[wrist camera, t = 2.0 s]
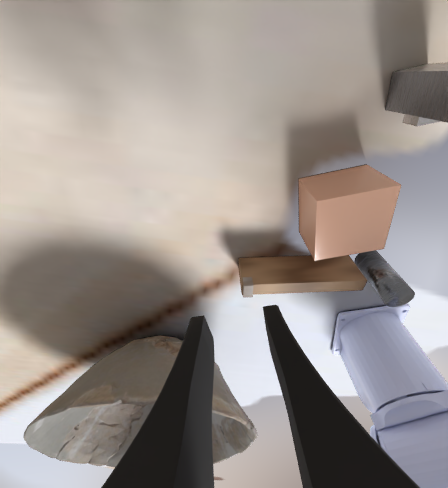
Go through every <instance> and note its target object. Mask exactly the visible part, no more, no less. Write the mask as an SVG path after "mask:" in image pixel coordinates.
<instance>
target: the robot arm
mask: <svg viewBox="0 0 448 488" xmlns="http://www.w3.org/2000/svg"><path fill="white" fill-rule="evenodd" d="M409 309H410V306H409V305H408V304H407V303H406V304H404V305H402V306H398V307H389V306H383V307H376V308H369V309H362V310H355V311H348V312H342V313H339V314H338V317H337V323H336V329H335V335H334V341H333V347H332V354H333V355H341V357H342V360H343V362H344V364H345V366H346V369H347V371H348V373H349V375H350V377H351V380H352V382H353V384H354V386H355V389H356V391H357V393H358V395H359V397H360V399H361V401H362V403H363V404H364V405H365V407H366V408H367V409H368V410H369V411H370V412H372V413H373V414H371V415H370V417H371V419H372V421H373V423H374V425H372V426H371V428H370V435H369V434H368V432H366V430H365V429H364V428H363V427H362V426H361V424H360V423H359V422H358V421H357V420H356V419H355V418H354V417H353V415H352V414H351V413H350V412H349V411H348V410H347V409H346V407H345V406H344V405H343V404H342V403H341V401H340V400H339V399H338V398H337V396H336V395H335V394H334V393H333V391H332V390H331V389H330V388H329V386H328V385H327V384H326V383H325V381H324V380H323V379H322V377H321V376H320V375H319V373H318V372H317V371H316V369H315V368H314V366H313V365H312V364H311V362H310V361H309V359H308V358H307V356H306V355H305V353H304V352H303V350H302V349H301V347H300V346H299V344H298V343H297V341H296V339H295V338H294V336H293V335H292V333H291V331H290V329H289V328H288V326H287V324H286V322H285V320H284V318H283V316H282V314H281V312H280V310H279V307H278V306H277V305H271V306H264V307H263V311H264V317H265V324H266V331H267V336H268V341H269V346H270V351H271V355H272V359H273V362H274V366H275V369H276V373H277V376H278V380H279V383H280V387H281V390H282V394H283V397H284V401H285V405H286V409H287V412H288V417H289V421H290V426H291V431H292V436H293V441H294V445H295V451H296V455H297V460H298V465H299V470H300V474H301V480H302V485H303V488H448V383H447V381H446V380H445V379H444V377H443V376H442V375H441V374H440V372H439V371H438V370H437V368H436V367H435V366H434V364H433V363H432V362H431V360H430V359H429V358H428V356H427V355H426V354H425V352H424V351H423V350H422V348H421V347H420V346H419V344H418V343H417V342H416V341H415V339H414V338H413V337H412V335H411V334H410V333H409V331H408V330H407V329H406V327H405V326H404V325H403V322H404V320H405V317H406V315H407V313H408V311H409ZM213 380H214V341H213V336H212V334H211V331H210V329H209V326H208V324H207V322H206V319H205V317H204V316H198V317H192V318H191V319H190V322H189V325H188V328H187V331H186V334H185V337H184V340H183V342H182V345H181V348H180V350H179V352H178V355H177V357H176V360H175V362H174V364H173V367H172V369H171V371H170V373H169V375H168V377H167V380H166V382H165V384H164V386H163V388H162V390H161V392H160V394H159V396H158V398H157V400H156V402H155V403H154V405H153V407H152V409H151V411H150V413H149V414H148V416H147V418H146V420H145V421H144V423H143V425H142V426H141V428H140V430H139V432H138V433H137V435H136V436H135V438H134V440H133V441H132V443H131V444H130V446H129V448H128V449H127V451H126V452H125V454H124V455H123V457H122V458H121V460H120V461H119V463H118V464H117V466H116V467H115V469H114V470H113V472H112V473H111V475H110V476H109V478H108V479H107V481H106V482H105V483H104V485H103V486H102V487H101V488H214V474H213V449H212V399H213Z"/></svg>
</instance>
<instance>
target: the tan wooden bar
mask: <svg viewBox="0 0 448 488" xmlns="http://www.w3.org/2000/svg"><path fill="white" fill-rule="evenodd" d="M238 268H239V276H240V284H241V292H242V295H243V297H253V294H277V293H303V292H329V291H355V290H363V288H364V286H365V284H366V282H367V279H366V278H365V276H364V275H363V274H362V272H361V271H360V270H359V268H358V267H357V266H356V264H355V263H354V262H353V260H352V259H351V258H350V256H349V255H345V256H339V257H333V258H327V259H322V260H316V261H314V259H313V257H312V255H309V256H282V257H254V258H239V267H238Z"/></svg>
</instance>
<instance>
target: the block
mask: <svg viewBox="0 0 448 488" xmlns="http://www.w3.org/2000/svg"><path fill="white" fill-rule="evenodd" d="M400 188H401V184H399V183H397V182H396V181H394V180H392V179H390V178H389V177H387V176H385V175H384V174H382V173H380V172H378V171H377V170H375V169H373V168H372V167H370V166H368V165H367V164H364V165H359V166H355V167H350V168H345V169H340V170H336V171H330V172H326V173H321V174H316V175H311V176H310V177H305V178H300V179H299V190H298V205H299V233H300V235H301V236H302V238H303V240H304V242H305V244H306V246H307V248H308V250H309V251H310V253H311V255H312V257H313V259H314V261H316V260H322V259H327V258H333V257H339V256H345V255H351V254H357V253H362V252H368V251H374V250H380V249H384V247H385V243H386V239H387V236H388V232H389V228H390V225H391V221H392V217H393V214H394V210H395V206H396V202H397V199H398V195H399V192H400Z"/></svg>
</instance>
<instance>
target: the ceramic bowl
mask: <svg viewBox="0 0 448 488" xmlns="http://www.w3.org/2000/svg"><path fill="white" fill-rule="evenodd" d="M182 342H183V340H179V339H177V337H168V336H162V335H161V336H153V337H147V338H145V339H143V338H141V339H137V340H133V341H131V342H130V343H128V344H127V345H125V346H123V347H121V348H119V349H117V350H116V351H114V352H112V353H111V354H109V355H108V356H106V357H105V358H103V359H102V360H100V361H99V362H98V363H96V364H95V365H94V366H92V367H91V368H90V369H89V370H88V371H86V372H85V373H84V374H83V375H82V376H81V377H79V378H78V379H77V380H76V381H75V382H74V383H73V384H72V385H71V386H70V387H69V388H68V389H67V390H66V391H65V392H64V393H63V394H62V395H61V396H59V397H58V398H57V399H56V400H55V401H54V402H52V403H51V404H50V405H49V406H48V407H47V408H46V409H45V410H44V411H43V412H42V413H41V414H40V415H39V416H38V417H37V418H36V419H35V420H34V421H33V422H31V423H30V424H29V425H28V427H27V429H26V430H25V432H24V440H25V441H26V443H27V444H28V445H29V447H31V448H33V449H35V450H37V451H39V452H41V453H42V454H45V455H47V456H48V457H51V458H56V459H58V460H60V461H67V462H72V463H80V464H85V463H89V464H92V465H96V466H102V465H106V466H111V467H116V466H117V464H118V463H119V461H120V460H121V458H122V457H123V455H124V454H125V452H126V451H127V449H128V448H129V446H130V444H131V443H132V441H133V440H134V438H135V436H136V435H137V433H138V432H139V430H140V428H141V426H142V425H143V423H144V421H145V420H146V418H147V416H148V414H149V413H150V411H151V409H152V407H153V405H154V403H155V402H156V400H157V398H158V396H159V394H160V392H161V390H162V388H163V386H164V384H165V382H166V380H167V377H168V375H169V373H170V371H171V369H172V367H173V364H174V362H175V360H176V357H177V355H178V352H179V350H180V348H181V345H182ZM257 436H258V434H257V430H256V428H255V427H254V425H253V423H252V422H251V420H250V419H249V418H248V417H247V415H246V414H245V412H244V411H243V409H242V408H241V407H240V405H239V404H238V402H237V401H236V399H235V397H234V396H233V394H232V393H231V391H230V389H229V387H228V385H227V384H226V382H225V380H224V379H223V376H222V374H221V372H220V369H219V367H218V365H217V364H216V363H215V362H214V380H213V399H212V449H213V464H214V463H218V462H221V461H224V460H226V459H228V458H230V457H232V456H234V455H236V454H238V453H242V452H243V451H244V450H246V449H247V448H248V447H249V446H250V445H251V444H252V443H253V442H254V440H255V439H256V438H257Z"/></svg>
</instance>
